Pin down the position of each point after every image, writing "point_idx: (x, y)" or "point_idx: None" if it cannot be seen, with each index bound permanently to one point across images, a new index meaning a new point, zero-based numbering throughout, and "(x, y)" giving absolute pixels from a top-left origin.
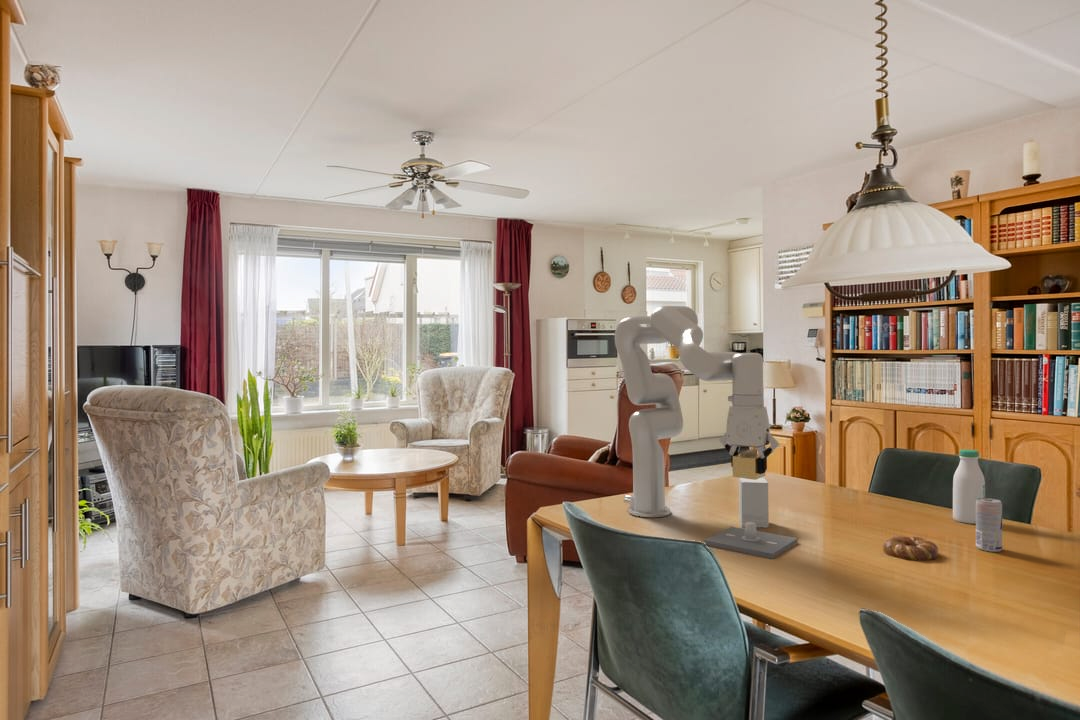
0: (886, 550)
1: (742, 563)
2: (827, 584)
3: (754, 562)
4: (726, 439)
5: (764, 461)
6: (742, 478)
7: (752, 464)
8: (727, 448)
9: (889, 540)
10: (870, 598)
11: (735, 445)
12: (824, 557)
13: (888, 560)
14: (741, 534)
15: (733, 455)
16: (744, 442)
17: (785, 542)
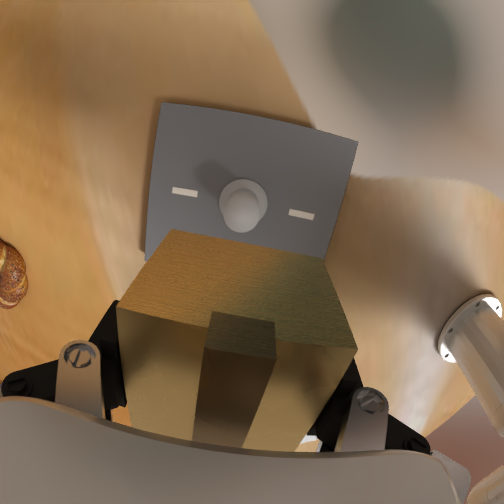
0: (15, 254)
1: (225, 35)
2: (56, 26)
3: (200, 55)
4: (453, 484)
5: (93, 338)
6: (307, 436)
7: (161, 279)
8: (406, 434)
9: (8, 274)
10: (12, 21)
11: (351, 452)
12: (77, 177)
13: (9, 220)
14: (275, 233)
15: (349, 390)
16: (217, 490)
17: (157, 213)
